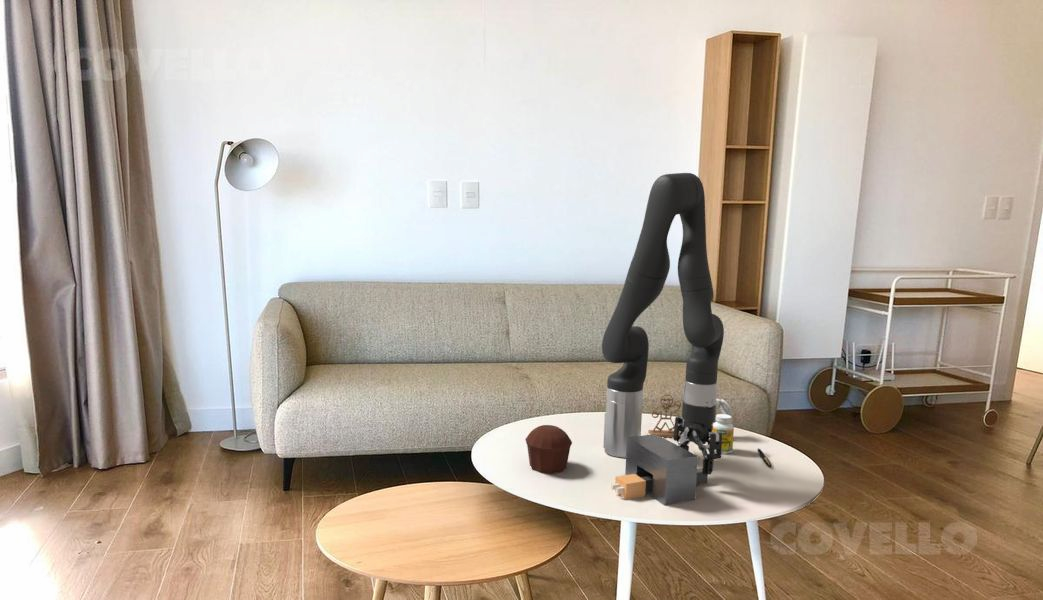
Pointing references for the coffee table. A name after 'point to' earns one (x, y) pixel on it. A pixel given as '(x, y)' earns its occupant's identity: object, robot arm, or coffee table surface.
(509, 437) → the coffee table surface
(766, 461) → the fountain pen
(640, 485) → the plug
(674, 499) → the bridge-shaped block
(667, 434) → the gingerbread man figurine
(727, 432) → the supplement bottle
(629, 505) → the coffee table surface
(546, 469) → the muffin
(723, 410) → the watch
